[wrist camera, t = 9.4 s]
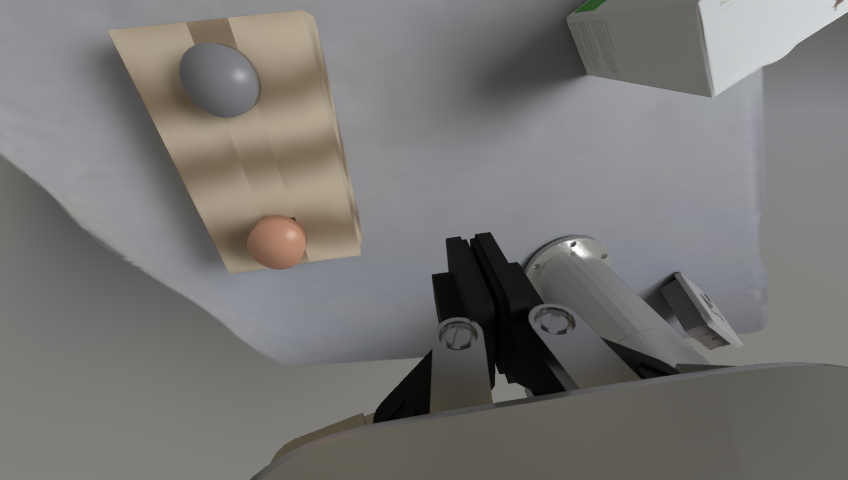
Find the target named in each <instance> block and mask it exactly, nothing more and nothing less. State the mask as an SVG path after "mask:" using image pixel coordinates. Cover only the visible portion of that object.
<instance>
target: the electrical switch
mask: <svg viewBox="0 0 848 480" xmlns="http://www.w3.org/2000/svg"><path fill="white" fill-rule="evenodd" d="M674 275H675V277H676V278H677V279H676V280H674V281H672V282H670V283H669V284H667V285H665V286H663V287H661V288H660V290H661V292H662V293H663V295H664V297H665V298H666V300H667V302H668V303H669V305H670V307H671V308H672V310H673V312H674V314H675V315H676V317H677V319H678V320H679V322H680V324H681V325H682V327H683V329H684V330H685V332H686V333H688V334H689V335H691V336H692V337H693V338H695V339H696V340H697V341H699V342H700V343H702V344H703V345H704V346H705V347H707V348H708V349H709V350H712V349H714V348H717V347H721V346H725V345H729V344H731V345H732V346H734V347H735V348H739V347H742V346H743V345H742V343H741V342H740V340H739V338H738V337H737V335H736V334H735V332H734V331H733V330H732V328H731V327H730V325H729V324H728V323H727V321H726V320H725V318H724V317H723V316H722V314H721V313H720V311H719V310H718V309H717V307H716V306H715V304H714V303H713V302H712V301H711V299H710V298H709V297H708V296H707V295H706V294H705V293H704V292H703V291H702V290H701V289H700V288H698V287H697V286H696V285H695V284H694V283H693V282H692V281H690V280H689V279H688V278H687V277H686V276H685V275H684V274H682V273H681V272H679V273H676V274H674ZM681 316H682V317H681ZM689 329H690V330H689ZM686 330H687V331H686ZM693 334H694V335H693Z"/></svg>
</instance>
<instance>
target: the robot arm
mask: <svg viewBox="0 0 848 480" xmlns="http://www.w3.org/2000/svg"><path fill="white" fill-rule="evenodd" d="M446 248H447V259H448V270H449V272H446V273H439V274H432V282H433V290H434V297H435V304H436V310H437V316H438V321H439V325H438V326H437V327H436V329H435V331H434V335H433V349H432V350H431V351H430V352H429V353H428V354H427V355H426V356H425V357H424V358H423V359H422V360H421V362H420V363H419V364H418V365H417V366H416V367H415V368H414V369H413V370H412V371H411V372H410V373H409V374H408V375H407V376H406V377H405V378H404V379H403V381H402V382H401V383H400V384H399V385H398V386H397V387H396V388H395V389H394V390H393V391H392V392H391V393H390V394H389V395H388V396H387V397H386V398H385V400H384V401H383V402H382V403H381V404H380V405H379V407H378V408H377V410H376V412H375V413H372V414H370V415H367V416H364V415H363V413H361V414H358V415H356V416H353V417H350V418H348V419H345V420H343V421H341V422H338V423H335V424H332V425H330V426H327V427H325V428H322V429H319V430H317V431H314V432H312V433H309V434H307V435H304V436H301V437H299V438H296V439H294V440H292V441H290V442H289V443H287V444H285V445H284V446H283V447H282V448H281V449H280V450H279V451H278V452H277V453H276V455H275V456H274V458H273V460H272V461H271V463H270V464H269V465H267V466H266V467H265V468H263V469H262V470H261V471H259V472H258V473H257V474H256V475H254V476H253V477H252V478H251V479H250V480H848V367H846V366H839V365H832V364H825V363H804V362H803V363H802V362H784V363H765V364H754V365H743V366H727V365H713V364H711V362H709V361H708V360H707V359H706V358H705V357H704V356H703V355H702V354H700V353H699V352H698V351H697V350H696V349H695V348H694V347H693V346H692V345H690V343H689V342H687V341H686V340H685V339H684V338H683V337H682V336H681V335H680V334H679V333H678V332H677V331H676V330H675V329H674V328H672V327H671V326H670V325H669V324H668V323H667V322H666V321H665V320H664V319H663V318H662V317H661V316H660V315H659V314H658V313H657V312H655V311H654V310H653V309H652V308H651V307H650V306H649V305H648V304H647V303H646V302H645V301H644V300H643V299H642V298H641V297H640V296H639V295H637V294H636V293H635V292H634V291H633V290H632V289H631V288H630V287H629V286H628V285H627V284H626V283H625V282H624V281H623V280H622V279H620V278H619V277H618V276H617V275H616V274H615V273H614V272H613V271H612V270H611V257H610V255H609V252H608V251H607V249H606V248H605V247H604V246H603V245H602V244H601V243H600V242H598V241H597V240H595V239H593V238H590V237H587V236H578V235H577V236H568V237H564V238H561V239H558V240H556V241H554V242H551V243H550V244H548V245H546V246H545V247H543V248H542V249H541V250H540V251H538V252H537V253H536V254H535V255H534V257H533V258H532V259H531V260H530V262H529V263H528V265H527V266H526V269H525V271H523V269H522V268H521V266H520V265H519V263H517V262H514V263H508V261H507V260H506V258H505V256H504V255H503V253H502V251H501V249H500V248H499V246H498V244H497V243H496V241H495V239H494V238H493V236H492V234H491V233H490V232H487V233H480V234H475V238H472V239H470V246H469V244H468V241H467V239H465V240H462V239H461V237H453V238H446ZM495 364H496V367H497V369H498V372H499V374H505V376H506V378H507V381H508V384H510V383H518V384H520V385H522V386H523V387H525V393H526V396H527V398H522V399H516V400H510V401H504V402H497V403H493V401H492V394H491V390H492V389H493V387H494V386H495Z"/></svg>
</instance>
